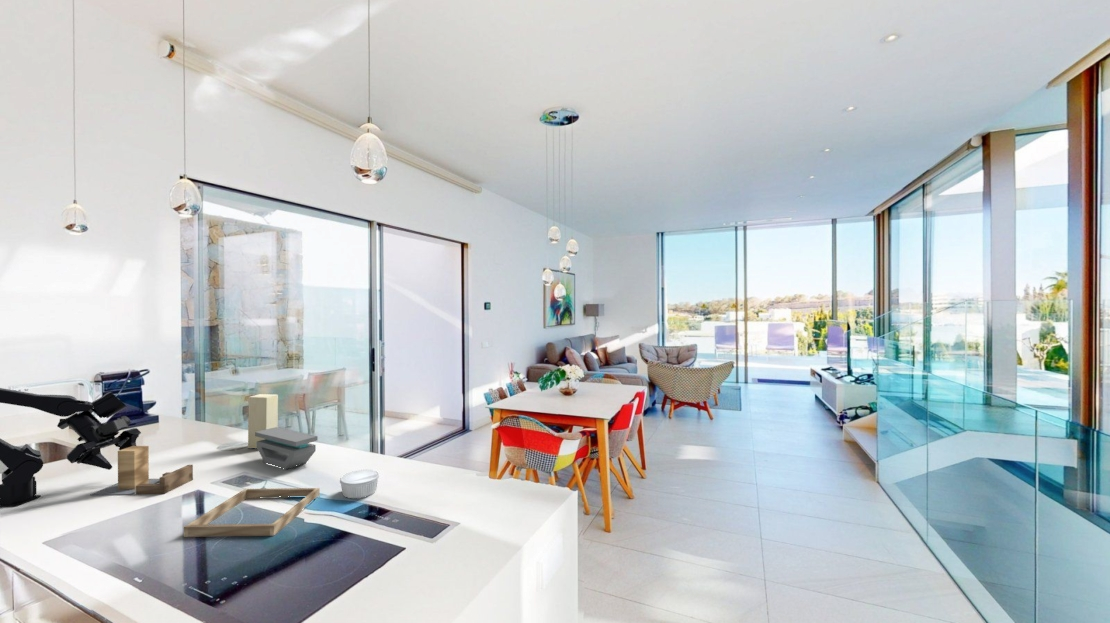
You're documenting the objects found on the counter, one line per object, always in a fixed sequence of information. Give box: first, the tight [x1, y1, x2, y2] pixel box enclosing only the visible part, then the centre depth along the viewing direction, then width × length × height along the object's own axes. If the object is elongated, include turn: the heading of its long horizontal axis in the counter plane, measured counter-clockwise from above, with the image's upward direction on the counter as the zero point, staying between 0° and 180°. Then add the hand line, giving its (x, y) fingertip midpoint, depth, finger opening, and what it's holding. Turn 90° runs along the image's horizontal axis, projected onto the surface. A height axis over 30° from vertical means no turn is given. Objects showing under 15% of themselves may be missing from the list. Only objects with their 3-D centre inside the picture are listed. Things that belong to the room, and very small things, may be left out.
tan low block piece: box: [135, 464, 194, 495], centre depth 140 cm, size 11×8×5 cm
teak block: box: [117, 445, 150, 489], centre depth 140 cm, size 5×5×12 cm
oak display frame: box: [183, 487, 321, 538], centre depth 122 cm, size 23×22×2 cm
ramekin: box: [339, 469, 380, 499], centre depth 137 cm, size 11×11×5 cm
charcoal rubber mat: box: [89, 478, 160, 496], centre depth 140 cm, size 12×12×1 cm
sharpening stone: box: [255, 426, 319, 470], centre depth 161 cm, size 25×8×11 cm, turn 62°
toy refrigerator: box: [247, 393, 279, 448], centre depth 181 cm, size 8×7×21 cm
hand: (125, 463), depth 140 cm, fingers open, 9 cm apart
